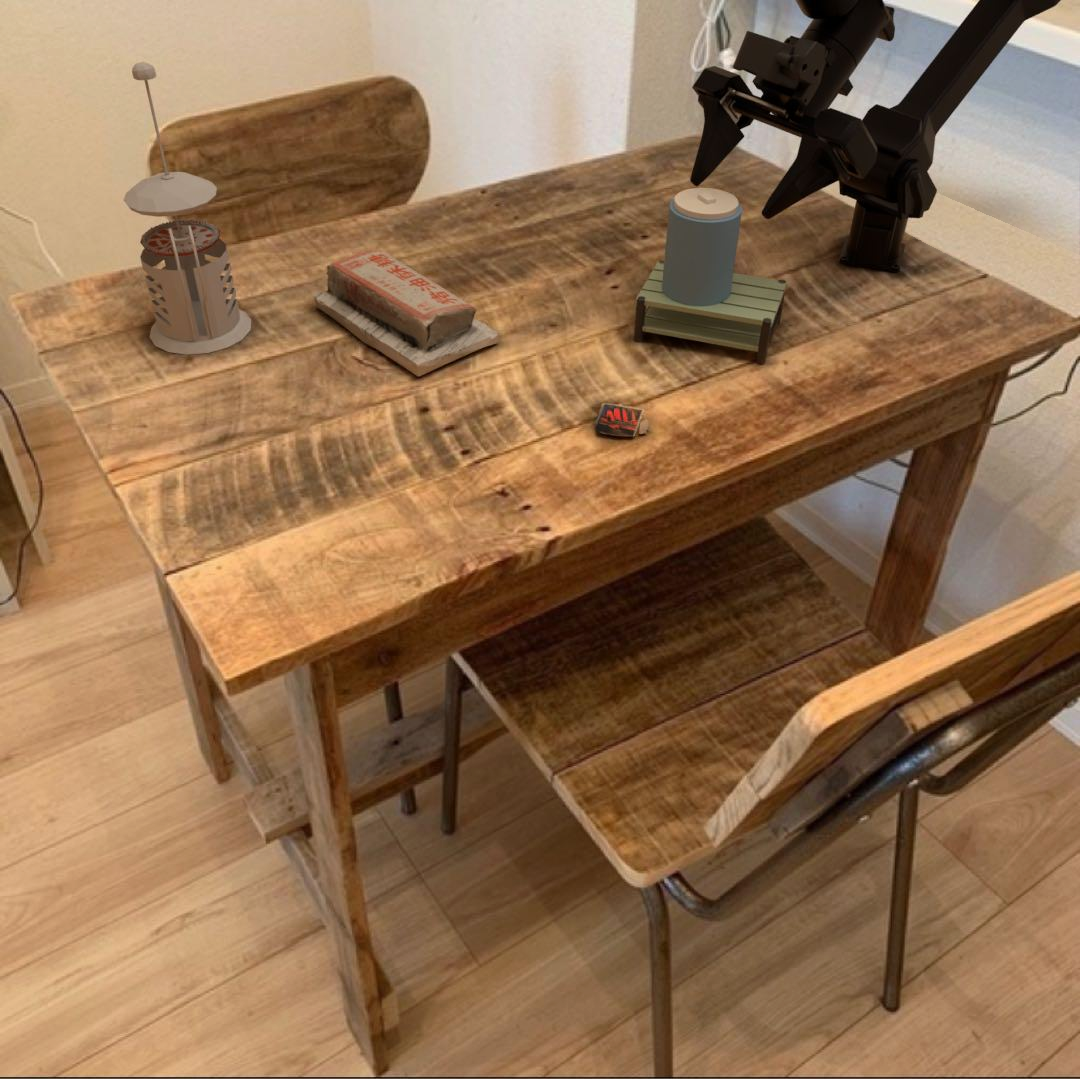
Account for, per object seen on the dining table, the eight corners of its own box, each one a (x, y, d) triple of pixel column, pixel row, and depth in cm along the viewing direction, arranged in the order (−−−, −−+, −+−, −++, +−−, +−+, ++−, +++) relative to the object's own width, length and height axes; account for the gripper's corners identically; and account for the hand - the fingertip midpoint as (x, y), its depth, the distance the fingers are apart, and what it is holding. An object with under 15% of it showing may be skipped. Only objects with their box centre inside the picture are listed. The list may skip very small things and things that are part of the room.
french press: (243, 297, 110) (194, 40, 94) (262, 353, 102) (212, 81, 86) (144, 313, 107) (76, 51, 91) (156, 371, 99) (83, 94, 83)
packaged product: (305, 264, 105) (388, 236, 110) (312, 308, 109) (392, 279, 114) (414, 334, 95) (500, 299, 100) (418, 380, 98) (501, 344, 103)
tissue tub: (655, 275, 105) (663, 183, 99) (720, 271, 106) (732, 180, 100) (670, 308, 100) (679, 212, 94) (738, 304, 101) (752, 209, 95)
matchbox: (595, 437, 92) (596, 433, 91) (594, 404, 95) (594, 400, 95) (650, 438, 92) (650, 434, 91) (646, 405, 95) (646, 401, 95)
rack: (655, 299, 111) (658, 259, 108) (780, 321, 107) (788, 280, 104) (632, 341, 104) (635, 299, 101) (764, 365, 101) (772, 323, 98)
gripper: (717, -30, 96) (618, 121, 98) (884, 18, 85) (768, 187, 87) (766, 47, 105) (673, 184, 107) (923, 99, 94) (816, 251, 96)
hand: (727, 199), depth 99 cm, fingers open, 9 cm apart
